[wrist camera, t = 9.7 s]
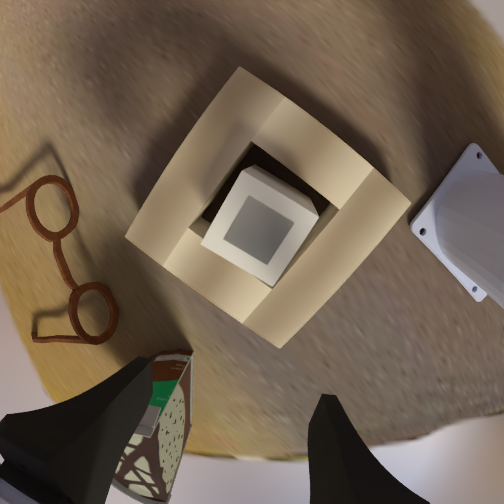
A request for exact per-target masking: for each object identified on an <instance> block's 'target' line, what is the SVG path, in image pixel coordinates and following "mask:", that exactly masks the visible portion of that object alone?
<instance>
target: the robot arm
mask: <svg viewBox="0 0 504 504" xmlns="http://www.w3.org/2000/svg"><path fill="white" fill-rule="evenodd" d="M477 153H479V158H477ZM422 228H424V232H423V233H422V234H420V229H422ZM410 230H411V231H412V232H413V233H414V234H415V235H416V236H417V237H418V238H419V239H420V240H421V241H422V242H423V243H424V244H425V245H426V246H427V247H428V248H429V249H430V250H431V252H432V253H433V254H434V255H435V256H436V257H437V258H438V259H439V260H440V261H441V262H442V263H443V264H444V265H445V266H446V267H447V269H448V270H449V271H450V272H451V273H452V274H453V275H454V276H455V277H456V278H457V280H458V281H459V282H460V283H461V284H462V285H463V286H464V287H465V289H466V290H467V291H468V292H469V293H470V294H471V296H472V297H473V298H474V299H475V300H476V301H477V302H480V301H482V300H483V299H484V297H485V296H486V295H487V294H488V295H489V296H490V297H491V298H492V299H494V300H495V301H496V302H497V303H498V304H499V305H500V306H501V307H502V308H503V309H504V175H502V174H500V173H499V172H498V170H497V169H496V168H495V166H494V165H493V164H492V162H491V161H490V160H489V158H488V157H487V156H486V155H485V153H484V152H483V151H482V149H481V148H480V147H479V146H478V145H477V144H475V143H471V144H469V145H468V147H467V148H466V149H465V151H464V152H463V154H462V155H461V157H460V158H459V159H458V161H457V162H456V164H455V165H454V166H453V168H452V169H451V171H450V172H449V173H448V175H447V176H446V177H445V179H444V180H443V181H442V183H441V184H440V185H439V187H438V188H437V189H436V191H435V192H434V193H433V195H432V196H431V197H430V199H429V200H428V201H427V202H426V204H425V205H424V206H423V208H422V209H421V210H420V211H419V213H418V214H417V215H416V216H415V218H414V219H413V220H412V221H411V223H410ZM474 286H475V288H474V290H472V289H473V287H474ZM152 395H153V372H152V360H151V359H148V358H144V357H141V356H138V357H137V358H135V359H134V360H133V361H131V362H130V363H129V364H127V365H126V366H124V367H123V368H122V369H120V370H119V371H118V372H116V373H115V374H113V375H112V376H110V377H109V378H107V379H106V380H104V381H103V382H101V383H99V384H98V385H96V386H94V387H93V388H91V389H89V390H87V391H86V392H84V393H82V394H80V395H78V396H75V397H73V398H71V399H69V400H66V401H64V402H61V403H58V404H55V405H52V406H49V407H46V408H42V409H38V410H34V411H28V412H22V413H14V414H7V415H6V416H5V417H4V418H3V419H2V420H1V421H0V454H1V455H2V457H3V459H4V462H3V463H2V464H0V504H105V501H106V498H107V495H108V492H109V488H110V485H111V483H112V480H113V477H114V475H115V472H116V469H117V467H118V464H119V462H120V459H121V457H122V454H123V452H124V450H125V448H126V446H127V445H128V443H129V441H130V439H131V438H132V436H133V434H134V432H135V430H136V429H137V427H138V425H139V423H140V421H141V420H142V418H143V416H144V414H145V412H146V410H147V408H148V405H149V403H150V400H151V397H152ZM308 460H309V474H310V504H430V503H429V502H428V501H426V500H425V499H423V498H421V497H420V496H418V495H417V494H415V493H414V492H412V491H411V490H409V489H408V488H407V487H405V486H404V485H403V484H402V483H400V482H399V481H398V480H397V479H396V478H395V477H393V476H392V474H390V473H389V472H388V471H387V470H386V469H385V468H384V467H383V466H382V465H381V464H380V462H379V461H378V460H377V459H376V458H375V457H374V455H373V454H372V453H371V452H370V450H369V449H368V448H367V446H366V445H365V443H364V442H363V441H362V439H361V438H360V436H359V435H358V433H357V431H356V430H355V428H354V426H353V425H352V423H351V421H350V420H349V418H348V416H347V414H346V413H345V411H344V409H343V407H342V405H341V403H340V402H339V400H338V398H337V396H336V395H329V394H322V395H321V397H320V400H319V402H318V404H317V407H316V409H315V411H314V414H313V416H312V418H311V420H310V423H309V428H308Z"/></svg>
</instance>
